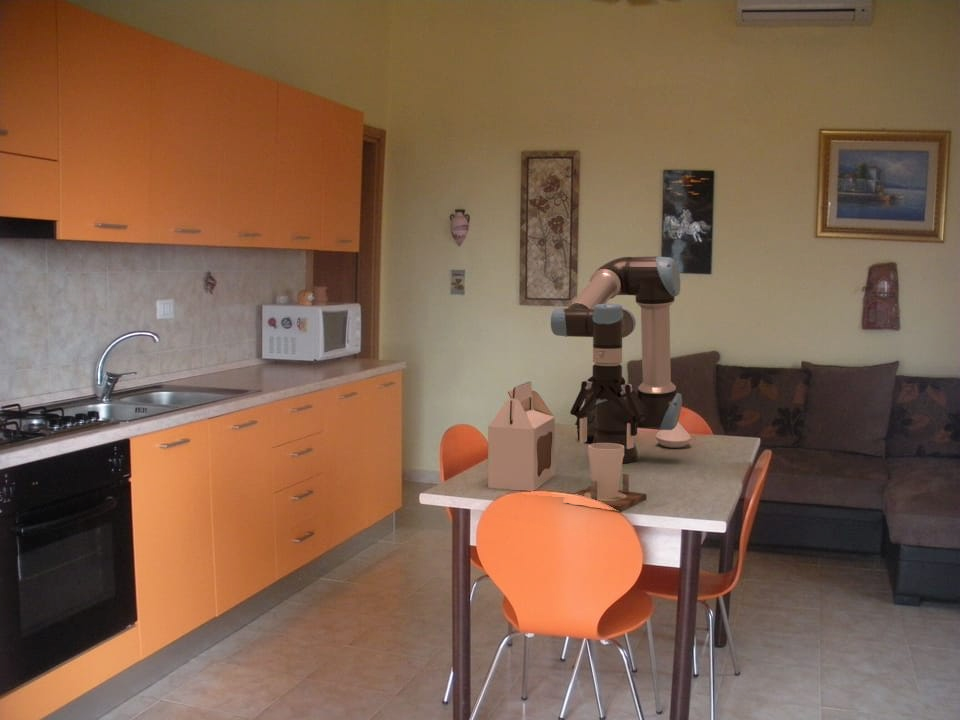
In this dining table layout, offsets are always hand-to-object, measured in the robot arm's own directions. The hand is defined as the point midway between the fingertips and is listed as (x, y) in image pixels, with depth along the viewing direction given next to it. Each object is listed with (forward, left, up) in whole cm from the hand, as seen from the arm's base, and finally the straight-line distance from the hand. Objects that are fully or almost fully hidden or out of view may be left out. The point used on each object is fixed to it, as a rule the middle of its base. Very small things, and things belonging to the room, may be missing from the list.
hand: (606, 445), depth 245 cm
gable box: (-7, -30, -15) cm, 34 cm away
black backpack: (-78, -40, -15) cm, 89 cm away
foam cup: (0, 0, -13) cm, 13 cm away
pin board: (0, 0, -15) cm, 15 cm away
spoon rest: (-87, -18, -15) cm, 90 cm away
